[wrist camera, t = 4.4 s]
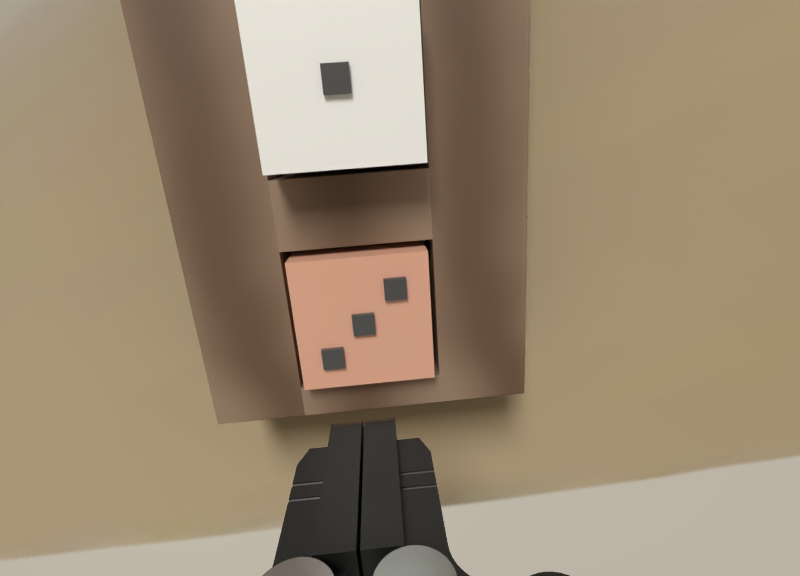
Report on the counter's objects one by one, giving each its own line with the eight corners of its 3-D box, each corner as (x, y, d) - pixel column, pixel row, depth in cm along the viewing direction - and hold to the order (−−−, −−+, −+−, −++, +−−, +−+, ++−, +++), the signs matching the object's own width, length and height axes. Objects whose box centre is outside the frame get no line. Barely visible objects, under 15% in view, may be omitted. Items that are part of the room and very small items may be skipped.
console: (490, -293, 17) (537, -461, 12) (494, 346, 25) (524, 393, 21) (117, -280, 16) (15, -452, 12) (246, 370, 25) (218, 424, 20)
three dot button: (418, 234, 21) (428, 252, 17) (424, 343, 23) (435, 379, 19) (298, 244, 21) (283, 264, 17) (314, 353, 22) (304, 392, 19)
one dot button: (407, 6, 17) (418, -31, 13) (416, 159, 19) (428, 162, 15) (258, 15, 17) (229, -20, 13) (281, 170, 18) (261, 176, 15)
